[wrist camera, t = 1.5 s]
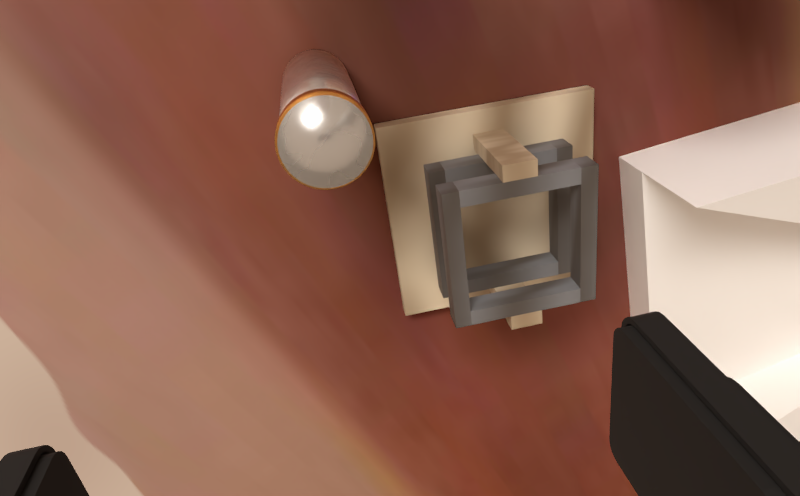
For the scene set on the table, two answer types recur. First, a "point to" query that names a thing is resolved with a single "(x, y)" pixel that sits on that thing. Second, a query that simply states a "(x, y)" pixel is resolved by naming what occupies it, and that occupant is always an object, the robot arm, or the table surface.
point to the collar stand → (494, 207)
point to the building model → (724, 249)
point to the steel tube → (322, 123)
